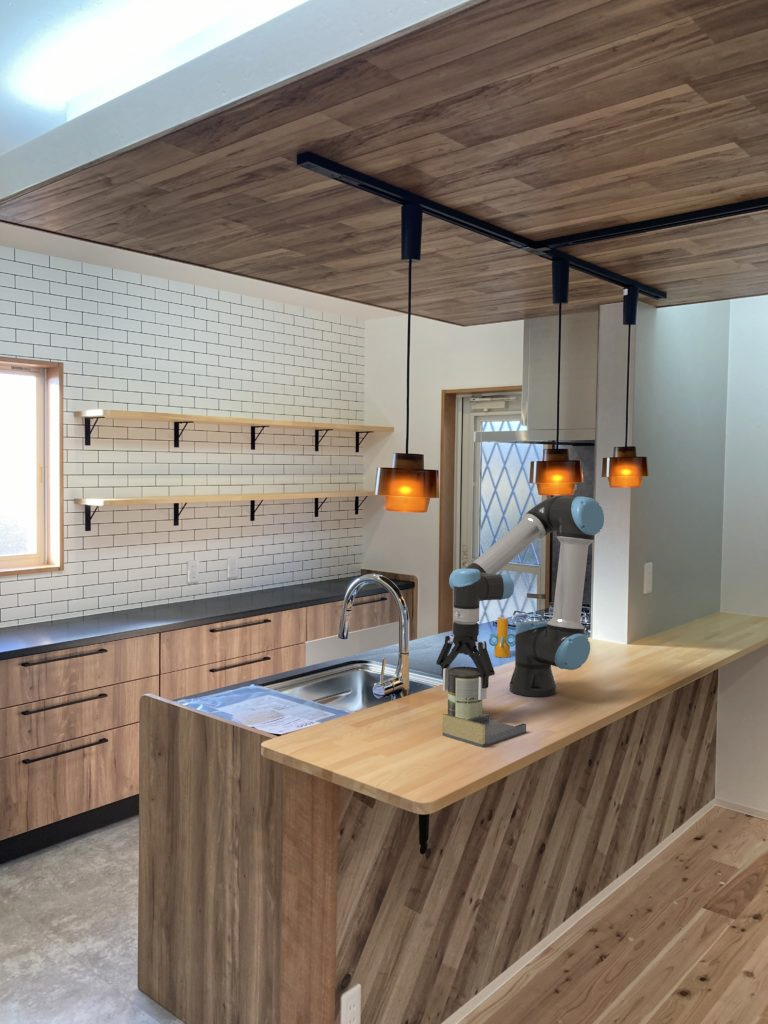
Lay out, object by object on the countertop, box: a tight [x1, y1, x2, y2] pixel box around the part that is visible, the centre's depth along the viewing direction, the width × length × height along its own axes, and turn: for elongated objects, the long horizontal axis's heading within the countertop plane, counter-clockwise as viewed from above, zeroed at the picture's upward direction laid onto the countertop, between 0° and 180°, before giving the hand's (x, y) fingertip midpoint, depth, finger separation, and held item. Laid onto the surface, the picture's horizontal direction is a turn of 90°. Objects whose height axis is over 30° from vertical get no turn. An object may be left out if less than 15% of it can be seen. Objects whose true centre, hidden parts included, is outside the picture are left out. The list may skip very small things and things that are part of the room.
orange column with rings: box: [488, 616, 515, 659], centre depth 334 cm, size 12×10×15 cm
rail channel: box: [442, 713, 527, 748], centre depth 235 cm, size 19×14×6 cm
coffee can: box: [447, 666, 483, 720], centre depth 249 cm, size 10×10×14 cm
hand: (464, 694), depth 249 cm, fingers open, 13 cm apart
